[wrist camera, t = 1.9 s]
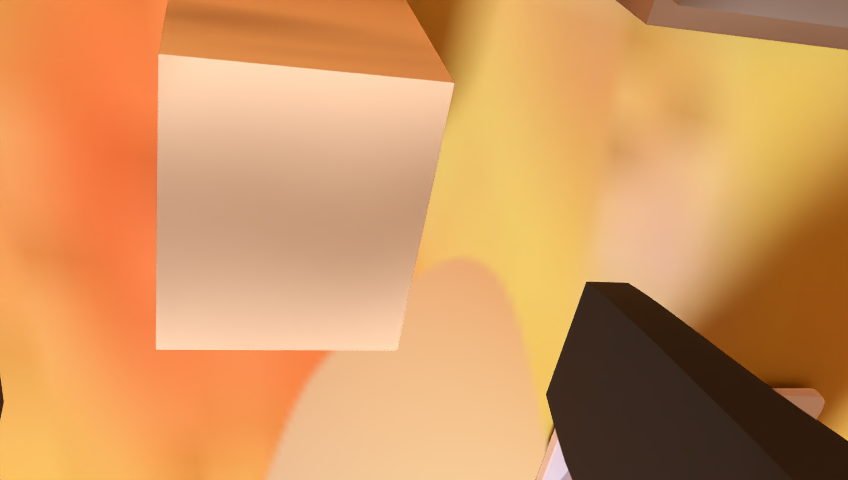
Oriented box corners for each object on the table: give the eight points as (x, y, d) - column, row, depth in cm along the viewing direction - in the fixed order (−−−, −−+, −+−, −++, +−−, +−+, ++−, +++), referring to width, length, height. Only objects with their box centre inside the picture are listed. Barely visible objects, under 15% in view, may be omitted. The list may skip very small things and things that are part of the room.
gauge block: (364, 226, 17) (397, 350, 14) (169, 218, 16) (155, 349, 13) (403, -4, 15) (454, 82, 11) (173, -34, 14) (158, 54, 10)
